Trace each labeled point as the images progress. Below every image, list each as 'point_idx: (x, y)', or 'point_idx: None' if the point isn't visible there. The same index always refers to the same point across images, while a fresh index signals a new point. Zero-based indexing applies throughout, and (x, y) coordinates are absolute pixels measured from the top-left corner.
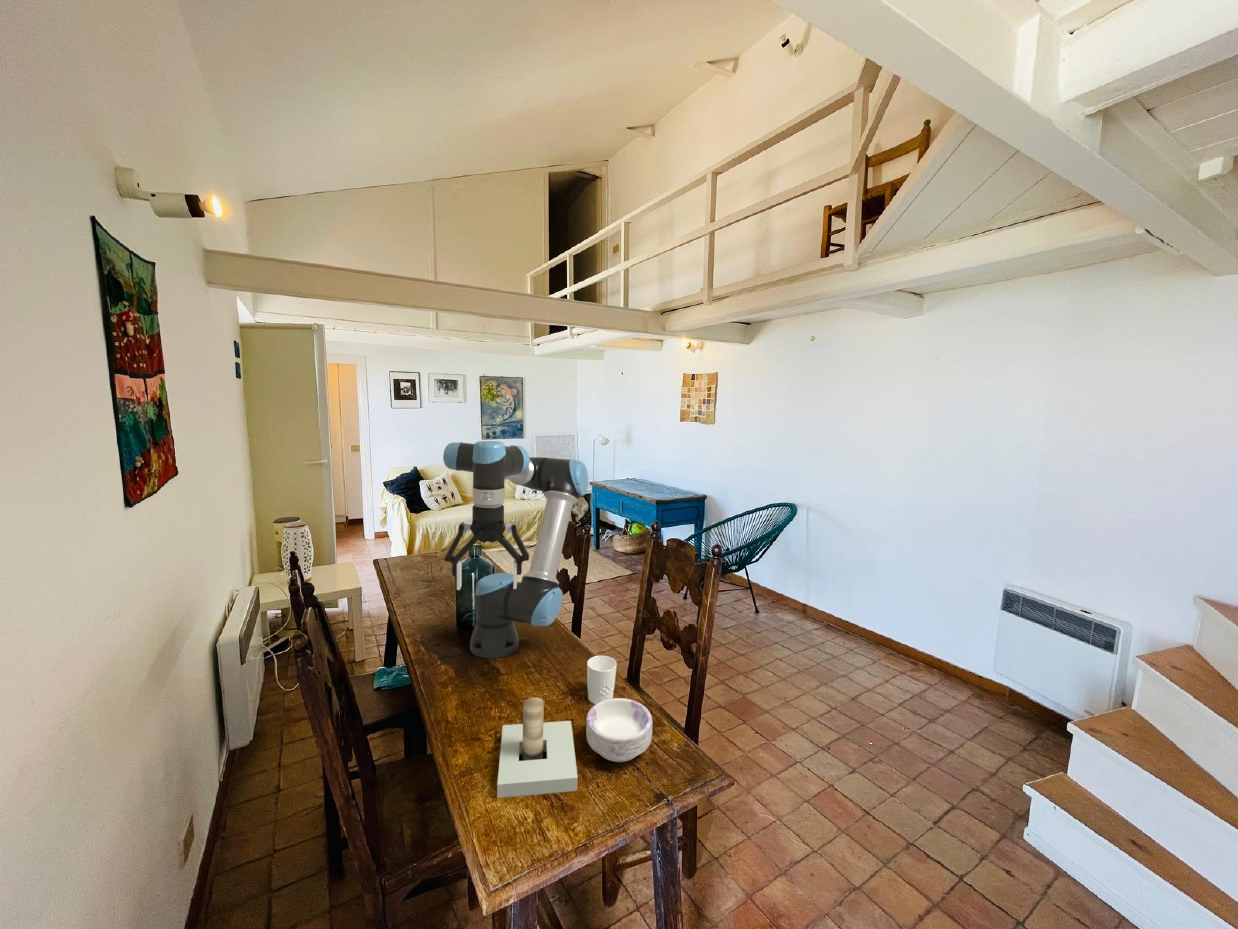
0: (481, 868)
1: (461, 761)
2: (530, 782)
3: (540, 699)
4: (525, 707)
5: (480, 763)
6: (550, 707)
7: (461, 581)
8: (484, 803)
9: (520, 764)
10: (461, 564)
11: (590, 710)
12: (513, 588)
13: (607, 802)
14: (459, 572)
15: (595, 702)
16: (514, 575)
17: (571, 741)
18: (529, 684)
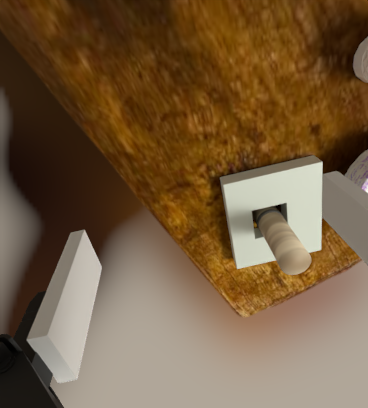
0: (235, 310)
1: (179, 221)
2: (270, 260)
3: (306, 253)
4: (284, 272)
5: (203, 221)
6: (284, 99)
7: (79, 242)
8: (222, 264)
9: (257, 243)
10: (56, 318)
11: (364, 185)
12: (323, 217)
13: (341, 247)
14: (84, 334)
15: (364, 81)
16: (363, 254)
17: (319, 201)
18: (240, 25)
